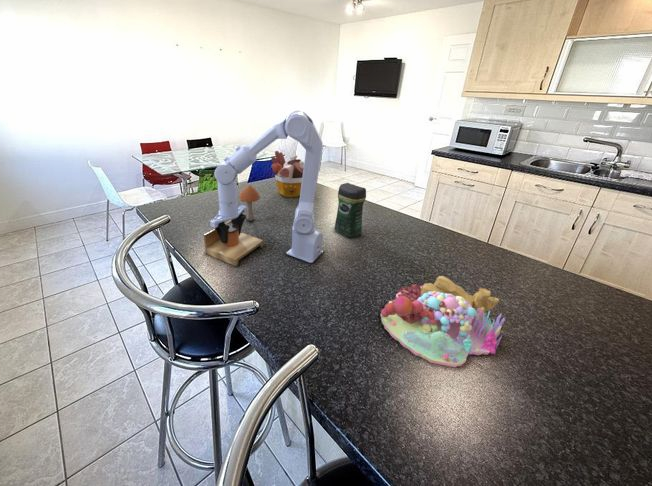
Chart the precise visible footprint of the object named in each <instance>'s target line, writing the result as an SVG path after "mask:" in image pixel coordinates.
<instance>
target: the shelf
mask: <svg viewBox="0 0 652 486" xmlns="http://www.w3.org/2000/svg"><path fill="white" fill-rule="evenodd" d="M225 223H226V224H232V221H231V220H228V221H225ZM203 240H204V250H205V254H206V255H208V256H211V257H213V258H216V259H218V260H219V261H220V260H221V261H223V262H224V263H227V264H230V265H231V266H234V267H237V266H238V265H239V261H240V260H241V259H243V258H244V257H246V256H247V255H248V254H250V253H251V252H253V251H254V250H255V249H257V248H264V240H263V239H261V238H258V237H256V236H253V235H250V234H246V233H243V232H242V231H241V232H240V235H239V243H238V244H237V245H235V246H225V245H223V243H222V242H221V240H220V237H219V235H218V233H217V231H216V230H215V228H213V229H212V230H209V231H208V232H206V233H204V234H203Z"/></svg>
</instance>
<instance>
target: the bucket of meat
mask: <svg viewBox="0 0 652 486" xmlns="http://www.w3.org/2000/svg"><path fill="white" fill-rule="evenodd" d="M289 159H290V160H289V161H287V162H286V160H285V157H284V153H283V152H281V151H280V152H279V151H278V150H275V151H274V156H271V159H270V160H271V161H272V163H271V169H272V171H273V173H274V176H275V180H276V181H275V182H276V185H277V190H278V193H279V194H280V195H281V196H283V197H284V198H298V197H300V192H301V184H302V177H303V169H304V160H302V159H299V158H298V155H296V154H294V155H293V156H289Z"/></svg>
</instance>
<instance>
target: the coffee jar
mask: <svg viewBox="0 0 652 486" xmlns="http://www.w3.org/2000/svg"><path fill="white" fill-rule="evenodd" d="M337 199H338V200H337V201H338V203H337V212H336V217H335V222H334V231H335V232H336V233H338V234H340V235H342V236H344V237H347V238H355V237H358V236H360V235H361V234H362V229H363V211H364V210H363V209H364V203H365V201H366V199H367V189H366V188H365V187H362V186H358V185H355V184H353V183H350V182H344V183H341V184H340V185H339V187H338V190H337Z"/></svg>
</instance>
